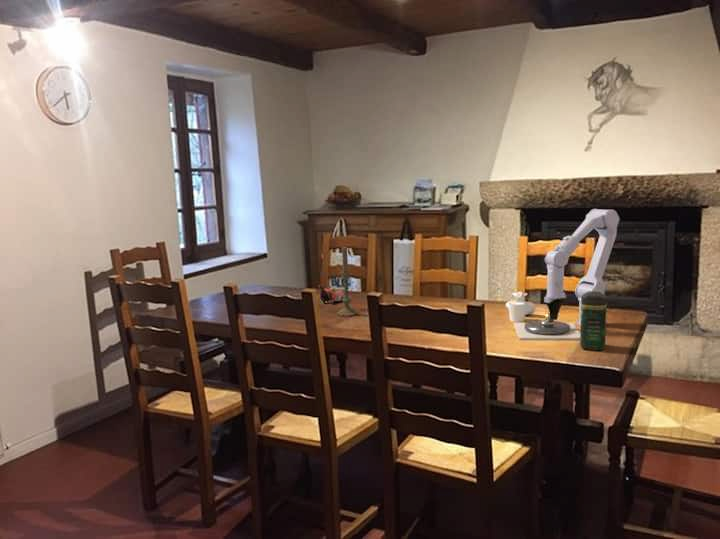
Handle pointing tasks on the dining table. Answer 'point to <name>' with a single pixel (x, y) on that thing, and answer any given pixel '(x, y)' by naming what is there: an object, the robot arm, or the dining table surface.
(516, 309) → the white cylinder
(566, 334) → the wheel base
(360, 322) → the dining table surface
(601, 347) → the coffee jar
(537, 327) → the handwheel
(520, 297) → the bust
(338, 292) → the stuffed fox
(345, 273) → the candlestick holder
